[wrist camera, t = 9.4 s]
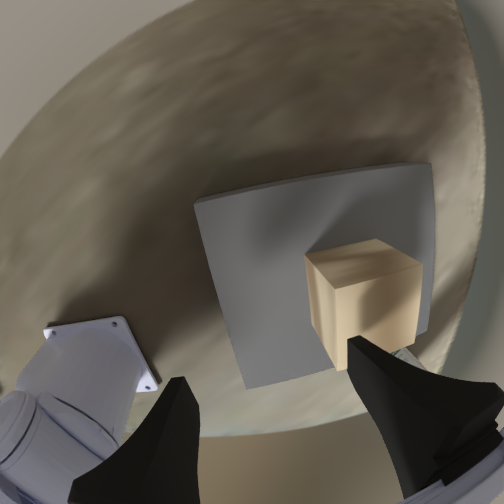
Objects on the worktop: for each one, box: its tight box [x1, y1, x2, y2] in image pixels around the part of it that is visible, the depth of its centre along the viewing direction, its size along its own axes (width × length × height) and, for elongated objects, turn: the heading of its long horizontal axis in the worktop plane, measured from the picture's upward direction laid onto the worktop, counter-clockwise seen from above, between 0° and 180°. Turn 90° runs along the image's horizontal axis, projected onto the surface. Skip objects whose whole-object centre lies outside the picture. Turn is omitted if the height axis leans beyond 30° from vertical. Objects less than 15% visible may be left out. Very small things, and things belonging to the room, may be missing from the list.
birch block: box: [304, 239, 423, 371], centre depth 15 cm, size 5×5×5 cm
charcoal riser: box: [193, 162, 435, 389], centre depth 19 cm, size 16×14×3 cm
